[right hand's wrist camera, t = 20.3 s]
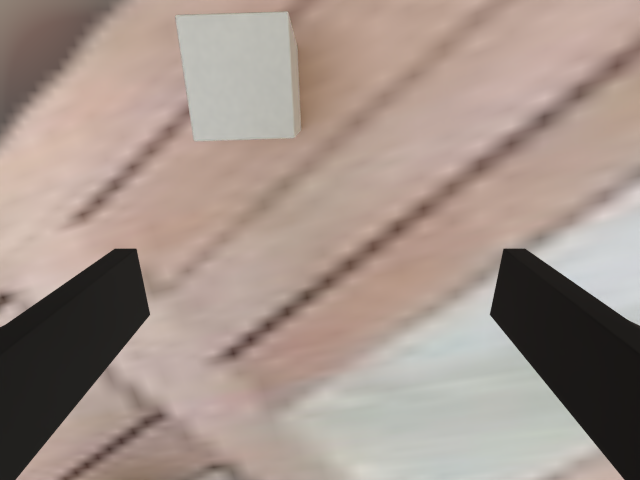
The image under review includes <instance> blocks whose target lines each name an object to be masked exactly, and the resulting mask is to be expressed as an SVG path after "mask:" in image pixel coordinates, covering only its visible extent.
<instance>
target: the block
mask: <svg viewBox="0 0 640 480" xmlns="http://www.w3.org/2000/svg"><path fill="white" fill-rule="evenodd" d="M175 19H176V26H177V32H178V39H179V46H180V53H181V59H182V66H183V73H184V79H185V86H186V93H187V99H188V106H189V113H190V119H191V126H192V133H193V140H194V141H225V140H256V139H288V138H295V137H296V136H297V135H298V133H299V132H300V131H301V112H300V90H299V68H298V47H297V43H296V39H295V35H294V32H293V28H292V24H291V21H290V17H289V13H288V12H255V13H223V14H192V15H176V16H175Z"/></svg>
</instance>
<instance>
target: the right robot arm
mask: <svg viewBox="0 0 640 480" xmlns="http://www.w3.org/2000/svg"><path fill="white" fill-rule="evenodd" d="M149 315H150V312H149V307H148V302H147V298H146V293H145V288H144V283H143V278H142V273H141V269H140V264H139V259H138V254H137V249H114V250H112V251H111V252H110V253H108V254H107V255H105V256H104V257H102V258H101V259H99V260H98V261H97V262H95V263H94V264H92V265H91V266H89V267H88V268H87V269H85V270H84V271H82V272H81V273H79V274H78V275H76V276H75V277H74V278H72V279H71V280H69V281H68V282H66V283H65V284H63V285H62V286H61V287H59V288H58V289H56V290H55V291H53V292H52V293H51V294H49V295H48V296H46V297H45V298H43V299H42V300H40V301H39V302H38V303H36V304H35V305H33V306H32V307H30V308H29V309H27V310H26V311H25V312H23V313H22V314H20V315H19V316H17V317H16V318H15V319H13V320H12V321H10V322H9V323H7V324H6V325H4V326H2V327H0V480H16V478H17V477H18V476H19V475H20V474H21V472H22V471H23V470H24V469H25V467H26V466H27V465H28V464H29V462H30V461H31V460H32V459H33V458H34V456H35V455H36V454H37V453H38V451H39V450H40V449H41V448H42V447H43V445H44V444H45V443H46V442H47V440H48V439H49V438H50V437H51V436H52V434H53V433H54V432H55V431H56V429H57V428H58V427H59V426H60V424H61V423H62V422H63V421H64V420H65V418H66V417H67V416H68V415H69V413H70V412H71V411H72V410H73V409H74V407H75V406H76V405H77V404H78V402H79V401H80V400H81V399H82V398H83V396H84V395H85V394H86V393H87V391H88V390H89V389H90V388H91V386H92V385H93V384H94V383H95V382H96V380H97V379H98V378H99V377H100V375H101V374H102V373H103V372H104V371H105V369H106V368H107V367H108V366H109V364H110V363H111V362H112V361H113V360H114V358H115V357H116V356H117V355H118V353H119V352H120V351H121V350H122V348H123V347H124V346H125V345H126V344H127V342H128V341H129V340H130V339H131V337H132V336H133V335H134V334H135V333H136V331H137V330H138V329H139V328H140V326H141V325H142V324H143V323H144V321H145V320H146V319H147V318H148V317H149ZM490 315H491V317H492V318H493V319H494V320H495V322H496V323H497V324H498V325H499V326H500V328H501V329H502V330H503V331H504V333H505V334H506V335H507V336H508V337H509V339H510V340H511V341H512V342H513V344H514V345H515V346H516V347H517V348H518V350H519V351H520V352H521V353H522V355H523V356H524V357H525V358H526V360H527V361H528V362H529V363H530V364H531V366H532V367H533V368H534V369H535V371H536V372H537V373H538V374H539V375H540V377H541V378H542V379H543V380H544V382H545V383H546V384H547V385H548V386H549V388H550V389H551V390H552V391H553V393H554V394H555V395H556V396H557V398H558V399H559V400H560V401H561V402H562V404H563V405H564V406H565V407H566V409H567V410H568V411H569V412H570V413H571V415H572V416H573V417H574V418H575V420H576V421H577V422H578V423H579V424H580V426H581V427H582V428H583V429H584V431H585V432H586V433H587V434H588V436H589V437H590V438H591V439H592V440H593V442H594V443H595V444H596V445H597V447H598V448H599V449H600V450H601V451H602V453H603V454H604V455H605V456H606V458H607V459H608V460H609V461H610V462H611V464H612V465H613V466H614V467H615V469H616V470H617V471H618V472H619V474H620V475H621V476H622V477H623V478H624V480H640V326H639V325H637V324H635V323H633V322H631V321H629V320H627V319H625V318H624V317H623V316H621V315H620V314H618V313H617V312H615V311H614V310H613V309H611V308H610V307H608V306H607V305H605V304H604V303H602V302H601V301H600V300H598V299H597V298H595V297H594V296H592V295H591V294H589V293H588V292H587V291H585V290H584V289H582V288H581V287H579V286H578V285H577V284H575V283H574V282H572V281H571V280H569V279H568V278H566V277H565V276H564V275H562V274H561V273H559V272H558V271H556V270H555V269H553V268H552V267H551V266H549V265H548V264H546V263H545V262H543V261H542V260H541V259H539V258H538V257H536V256H535V255H533V254H532V253H530V252H529V251H528V250H526V249H503V254H502V259H501V264H500V269H499V273H498V278H497V283H496V288H495V293H494V298H493V302H492V307H491V312H490Z"/></svg>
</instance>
